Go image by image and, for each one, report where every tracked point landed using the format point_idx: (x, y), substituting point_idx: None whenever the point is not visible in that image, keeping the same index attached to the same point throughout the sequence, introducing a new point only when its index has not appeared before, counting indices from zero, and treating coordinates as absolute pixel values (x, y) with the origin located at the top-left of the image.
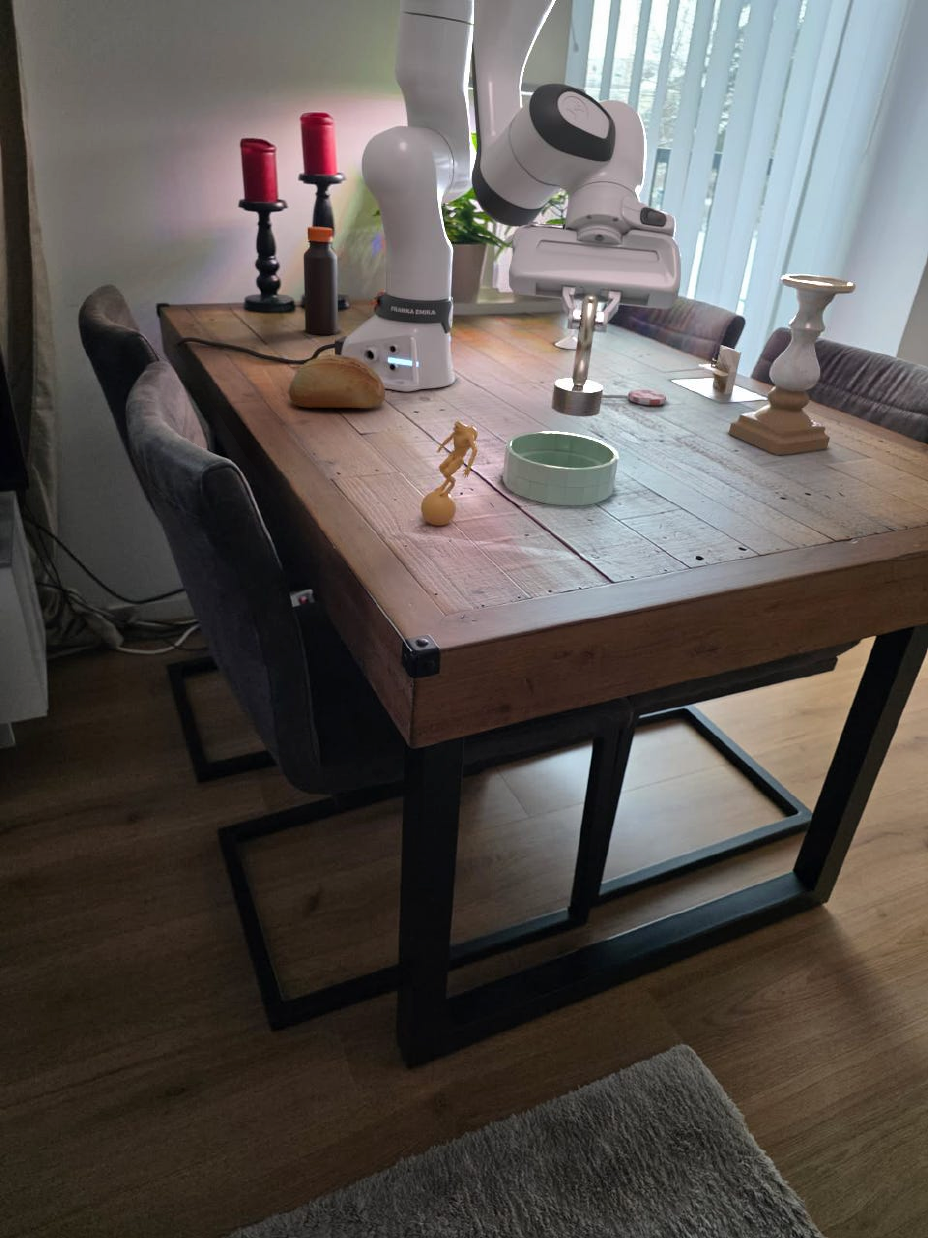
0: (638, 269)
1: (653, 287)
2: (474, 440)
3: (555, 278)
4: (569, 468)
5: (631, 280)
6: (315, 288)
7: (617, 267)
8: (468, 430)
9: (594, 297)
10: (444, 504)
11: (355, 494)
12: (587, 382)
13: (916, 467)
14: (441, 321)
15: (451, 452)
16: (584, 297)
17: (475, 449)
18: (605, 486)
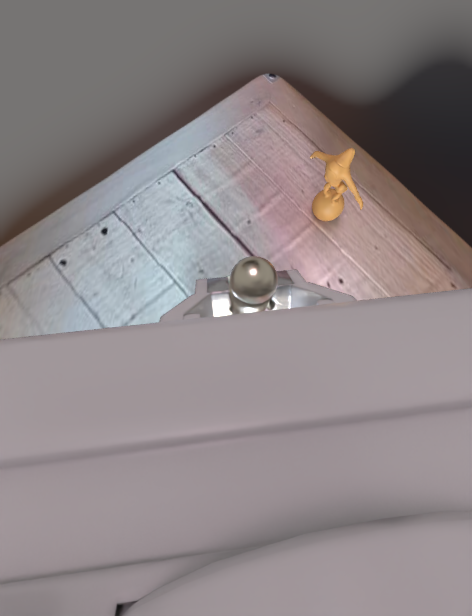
0: (44, 394)
1: (12, 340)
2: (323, 157)
3: (414, 296)
4: (228, 277)
5: (102, 339)
6: None
7: (164, 378)
8: (336, 156)
9: (241, 261)
10: (322, 190)
11: (412, 245)
12: None
13: None
14: None
15: (343, 183)
16: (274, 269)
17: (316, 151)
18: None
